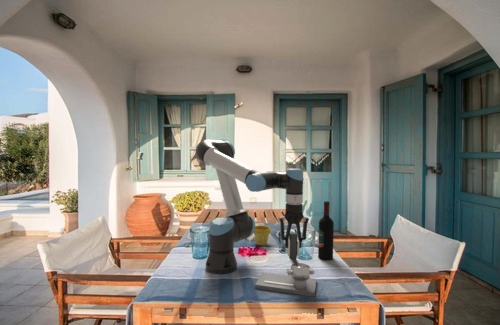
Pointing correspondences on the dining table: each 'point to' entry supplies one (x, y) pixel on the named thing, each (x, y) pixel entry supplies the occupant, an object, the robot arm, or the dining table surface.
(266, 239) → the plant pot
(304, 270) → the grey lever handle
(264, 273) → the base plate
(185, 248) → the dining table surface
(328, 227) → the wine bottle
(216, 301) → the dining table surface
